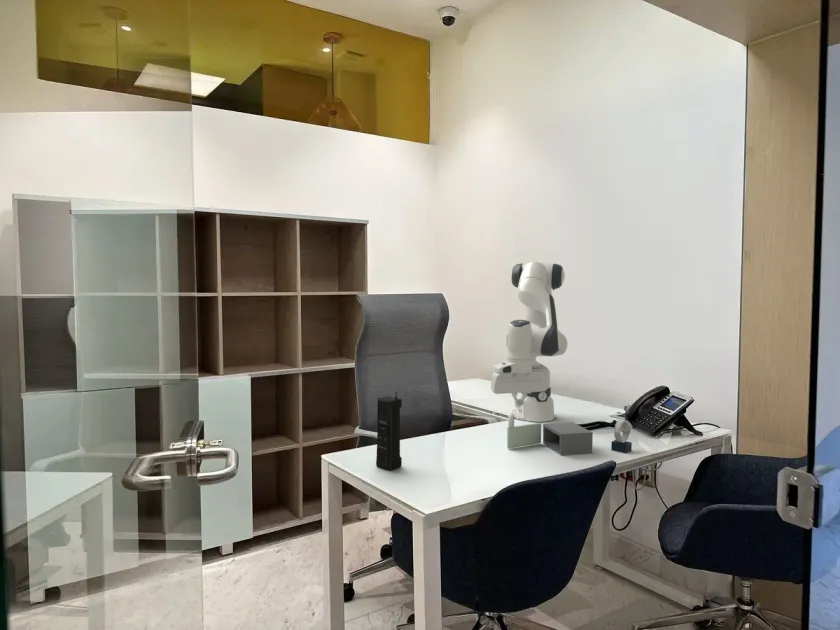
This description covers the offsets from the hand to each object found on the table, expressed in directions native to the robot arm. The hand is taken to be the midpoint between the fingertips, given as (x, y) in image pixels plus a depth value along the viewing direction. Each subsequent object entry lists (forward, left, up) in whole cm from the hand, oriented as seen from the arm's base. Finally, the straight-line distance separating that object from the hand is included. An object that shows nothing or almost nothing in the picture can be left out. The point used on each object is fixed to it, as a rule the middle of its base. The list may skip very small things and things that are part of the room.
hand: (519, 404), depth 193 cm
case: (-1, +19, -17) cm, 25 cm away
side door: (-6, +4, -17) cm, 18 cm away
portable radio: (+6, -48, -17) cm, 51 cm away
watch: (+6, +37, -17) cm, 41 cm away
